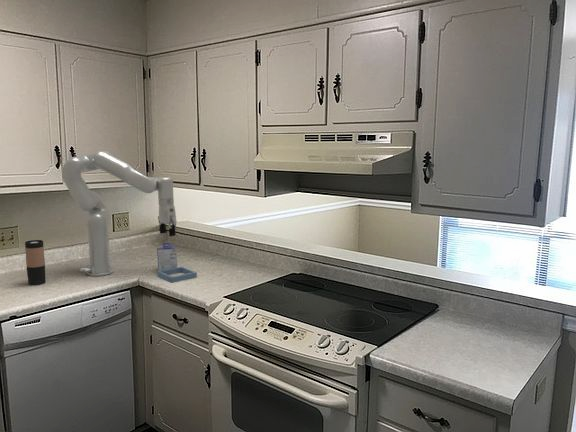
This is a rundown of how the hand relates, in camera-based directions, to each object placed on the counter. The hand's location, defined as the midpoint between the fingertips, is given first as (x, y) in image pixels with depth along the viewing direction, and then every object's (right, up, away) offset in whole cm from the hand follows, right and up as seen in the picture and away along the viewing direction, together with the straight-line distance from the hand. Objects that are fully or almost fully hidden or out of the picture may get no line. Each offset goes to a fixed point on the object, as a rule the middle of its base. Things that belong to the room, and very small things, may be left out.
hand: (167, 234), depth 241 cm
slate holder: (+7, -21, -8) cm, 23 cm away
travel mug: (-56, -22, -21) cm, 64 cm away
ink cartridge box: (-1, -19, +3) cm, 20 cm away
